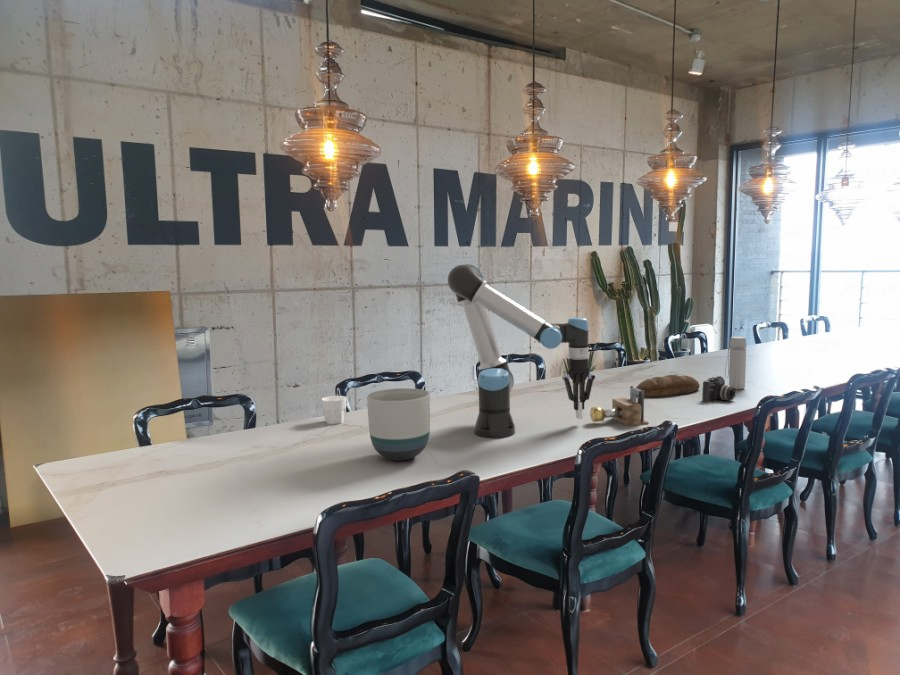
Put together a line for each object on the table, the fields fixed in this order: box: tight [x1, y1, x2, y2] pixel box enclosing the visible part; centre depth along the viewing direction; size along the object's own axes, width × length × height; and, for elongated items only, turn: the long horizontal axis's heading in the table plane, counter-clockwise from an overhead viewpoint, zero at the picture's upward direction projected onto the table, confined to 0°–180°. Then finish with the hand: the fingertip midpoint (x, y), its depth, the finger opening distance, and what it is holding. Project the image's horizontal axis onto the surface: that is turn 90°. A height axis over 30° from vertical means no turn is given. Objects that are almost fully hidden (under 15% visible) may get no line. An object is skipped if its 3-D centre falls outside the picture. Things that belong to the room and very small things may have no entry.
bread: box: [635, 374, 701, 398], centre depth 290 cm, size 16×36×8 cm, turn 115°
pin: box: [589, 406, 622, 423], centre depth 238 cm, size 12×6×6 cm, turn 101°
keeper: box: [631, 387, 641, 404], centre depth 239 cm, size 2×7×6 cm, turn 11°
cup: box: [321, 395, 347, 425], centre depth 250 cm, size 10×10×10 cm
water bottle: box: [724, 336, 747, 390], centre depth 295 cm, size 9×8×25 cm
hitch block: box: [611, 385, 649, 426], centre depth 239 cm, size 9×12×13 cm
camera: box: [701, 375, 736, 403], centre depth 272 cm, size 14×11×10 cm
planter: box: [366, 387, 431, 462], centre depth 200 cm, size 20×20×21 cm
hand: (579, 417), depth 236 cm, fingers closed
